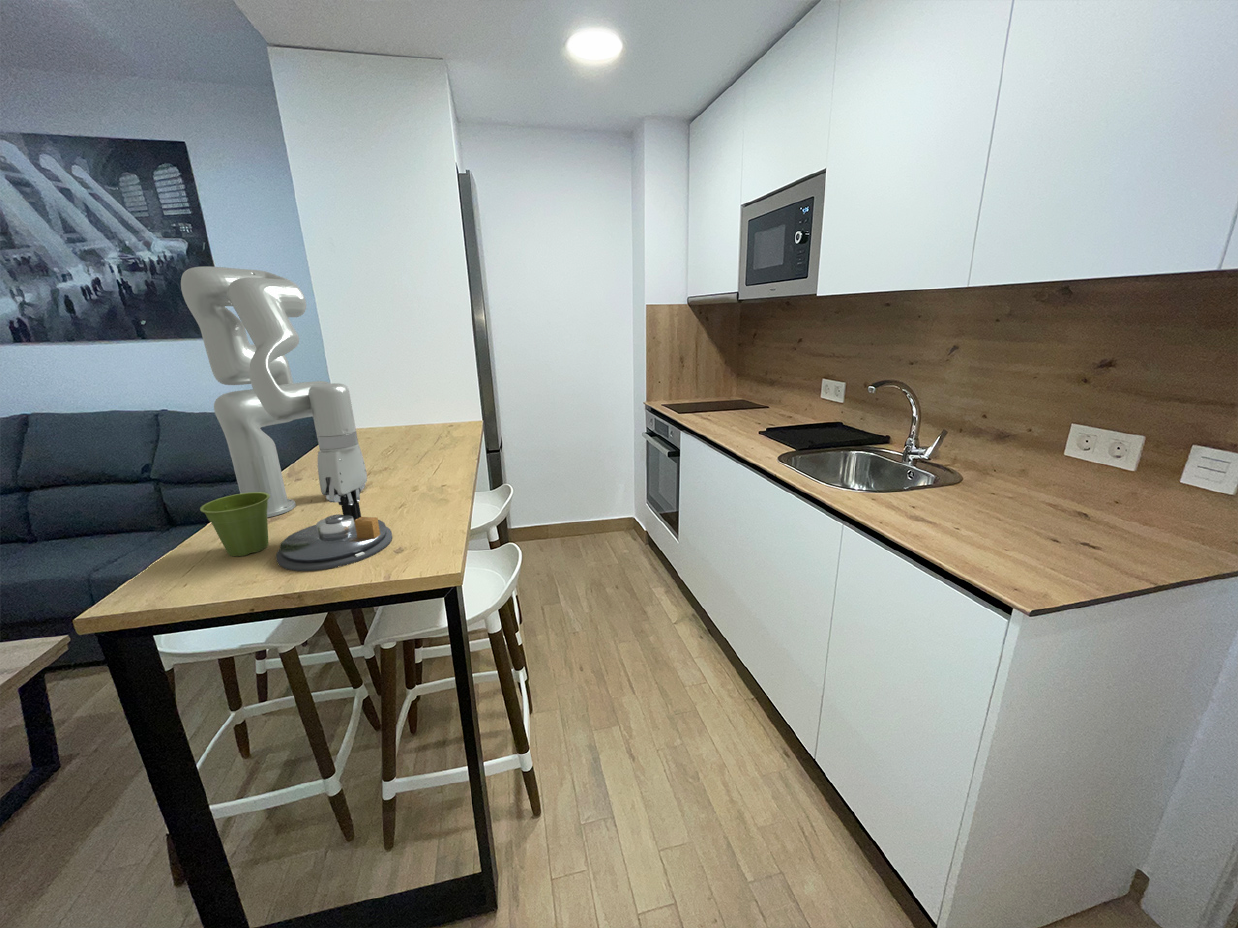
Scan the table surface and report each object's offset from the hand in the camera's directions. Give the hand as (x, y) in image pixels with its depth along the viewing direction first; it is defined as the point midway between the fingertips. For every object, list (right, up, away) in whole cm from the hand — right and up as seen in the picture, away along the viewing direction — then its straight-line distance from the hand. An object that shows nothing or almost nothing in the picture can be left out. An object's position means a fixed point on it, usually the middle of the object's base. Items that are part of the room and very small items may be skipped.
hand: (353, 519), depth 112 cm
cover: (-1, -3, -5) cm, 6 cm away
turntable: (-1, -4, -5) cm, 7 cm away
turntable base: (-1, -5, -5) cm, 7 cm away
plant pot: (-20, -6, -5) cm, 22 cm away
